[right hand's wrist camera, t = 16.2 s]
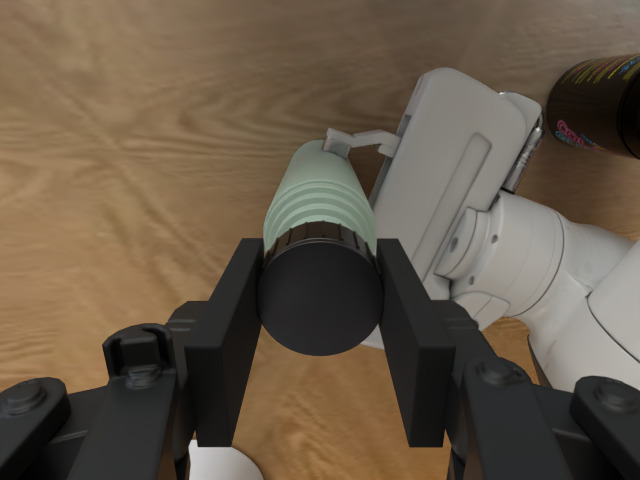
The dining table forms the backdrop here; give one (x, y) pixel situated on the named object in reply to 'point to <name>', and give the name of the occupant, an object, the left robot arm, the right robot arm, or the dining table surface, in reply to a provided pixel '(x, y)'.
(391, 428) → the dining table surface
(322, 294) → the cap
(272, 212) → the bottle
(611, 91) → the supplement container
